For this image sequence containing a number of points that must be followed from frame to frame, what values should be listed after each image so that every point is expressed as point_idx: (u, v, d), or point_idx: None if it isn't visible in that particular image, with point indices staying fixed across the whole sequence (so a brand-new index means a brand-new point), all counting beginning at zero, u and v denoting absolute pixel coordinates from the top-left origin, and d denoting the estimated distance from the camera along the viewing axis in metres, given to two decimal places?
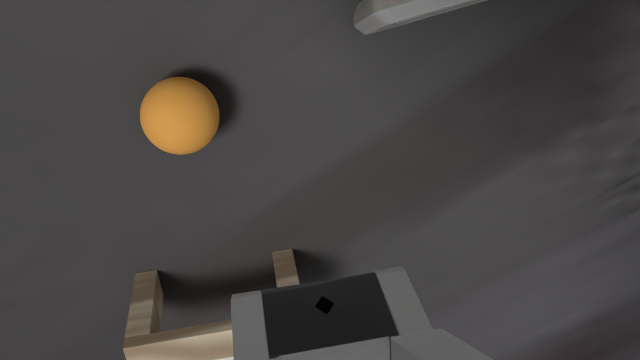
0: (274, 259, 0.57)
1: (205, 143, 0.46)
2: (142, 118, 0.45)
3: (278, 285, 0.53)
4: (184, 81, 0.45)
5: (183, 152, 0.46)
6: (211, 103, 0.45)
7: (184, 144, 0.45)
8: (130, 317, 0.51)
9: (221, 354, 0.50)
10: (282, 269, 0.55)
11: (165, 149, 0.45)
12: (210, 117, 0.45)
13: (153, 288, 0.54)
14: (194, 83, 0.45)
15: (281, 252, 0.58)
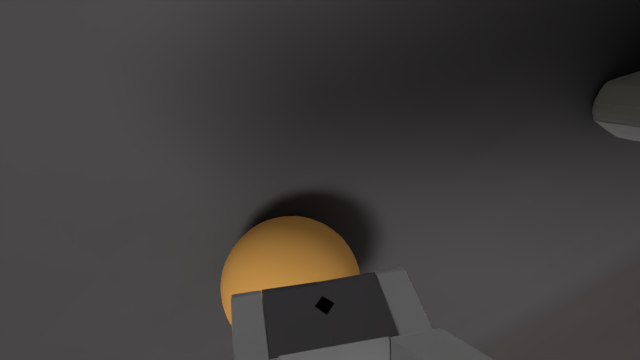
0: None
1: None
2: (228, 302, 0.24)
3: None
4: (307, 234, 0.24)
5: None
6: (353, 270, 0.24)
7: None
8: None
9: None
10: None
11: None
12: None
13: None
14: (323, 234, 0.24)
15: None
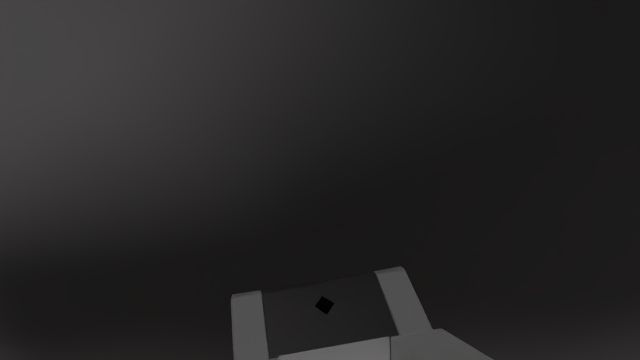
0: None
1: None
2: None
3: None
4: None
5: None
6: None
7: None
8: None
9: None
10: None
11: None
12: None
13: None
14: None
15: None
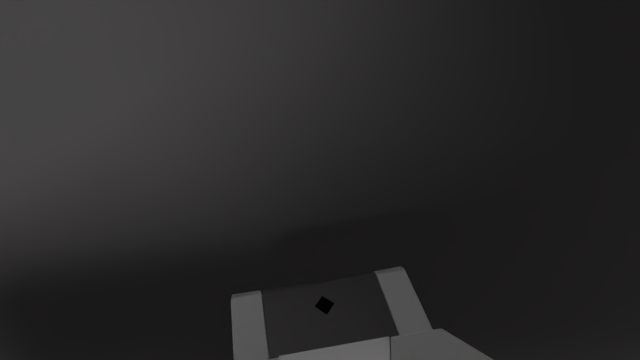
0: None
1: None
2: None
3: None
4: None
5: None
6: None
7: None
8: None
9: None
10: None
11: None
12: None
13: None
14: None
15: None
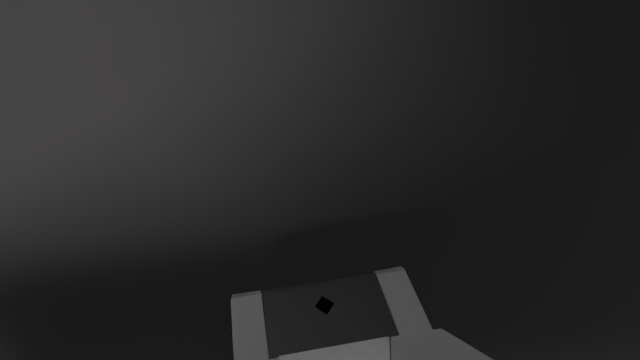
0: None
1: None
2: None
3: None
4: None
5: None
6: None
7: None
8: None
9: None
10: None
11: None
12: None
13: None
14: None
15: None
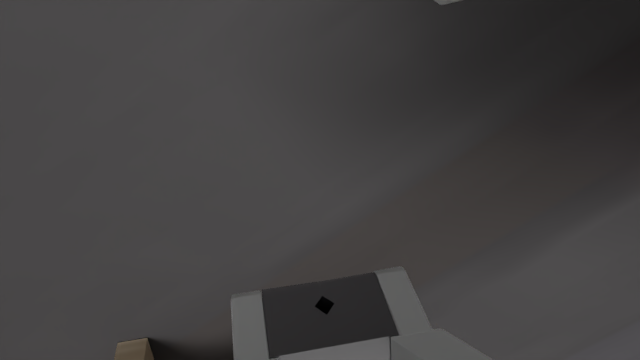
0: None
1: None
2: None
3: None
4: None
5: None
6: None
7: None
8: None
9: None
10: None
11: None
12: None
13: None
14: None
15: None
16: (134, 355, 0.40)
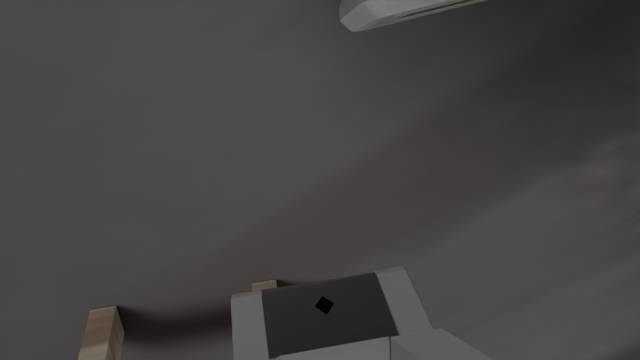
0: None
1: None
2: None
3: None
4: None
5: None
6: None
7: None
8: None
9: None
10: None
11: None
12: None
13: (109, 329, 0.46)
14: None
15: (263, 284, 0.49)
16: (104, 320, 0.47)
